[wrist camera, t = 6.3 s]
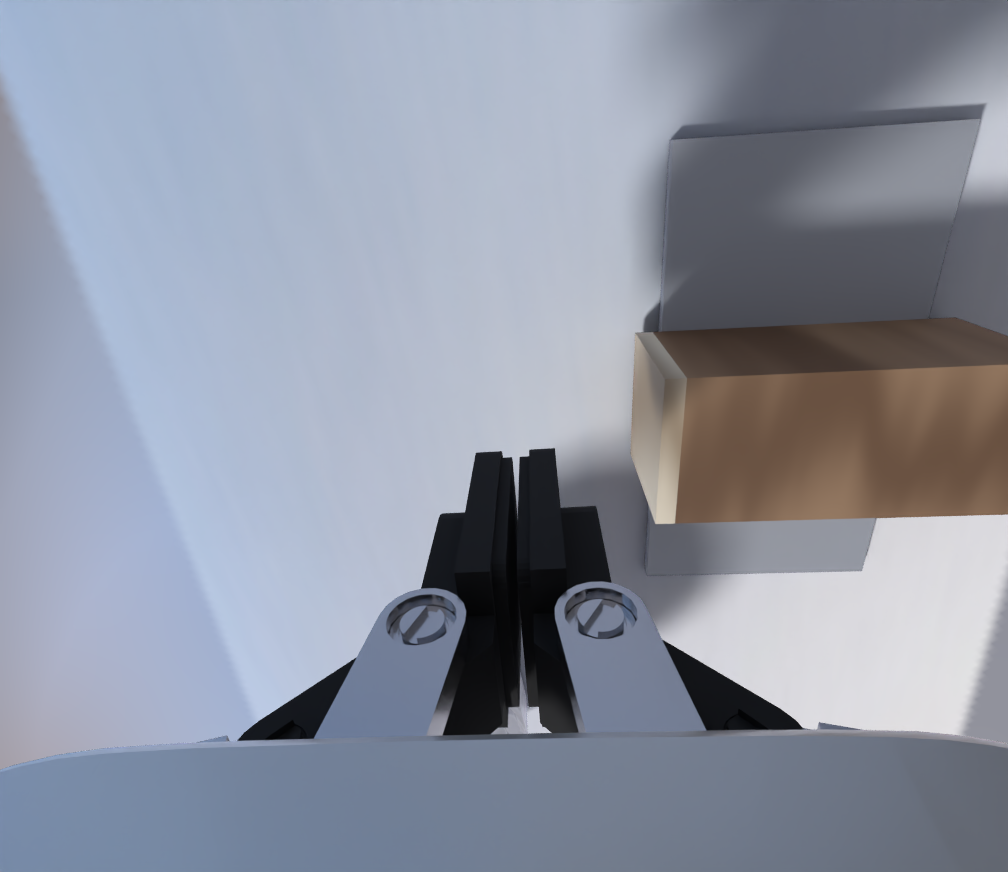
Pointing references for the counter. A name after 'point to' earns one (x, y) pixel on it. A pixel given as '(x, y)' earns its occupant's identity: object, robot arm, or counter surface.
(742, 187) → the mat
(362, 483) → the counter surface
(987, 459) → the block
